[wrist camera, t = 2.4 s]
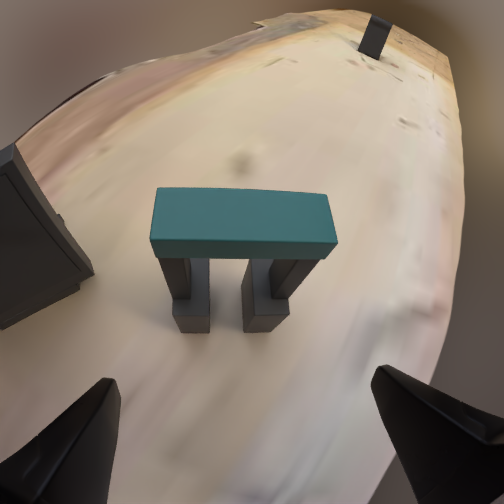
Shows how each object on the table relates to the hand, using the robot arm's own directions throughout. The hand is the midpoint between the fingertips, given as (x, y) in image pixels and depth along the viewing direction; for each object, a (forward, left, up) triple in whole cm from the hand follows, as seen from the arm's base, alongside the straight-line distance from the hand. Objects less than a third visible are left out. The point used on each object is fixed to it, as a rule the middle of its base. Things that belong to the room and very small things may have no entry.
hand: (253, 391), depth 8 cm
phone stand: (+39, -74, -13) cm, 84 cm away
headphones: (+5, -4, -12) cm, 14 cm away
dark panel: (+15, +11, -12) cm, 22 cm away
